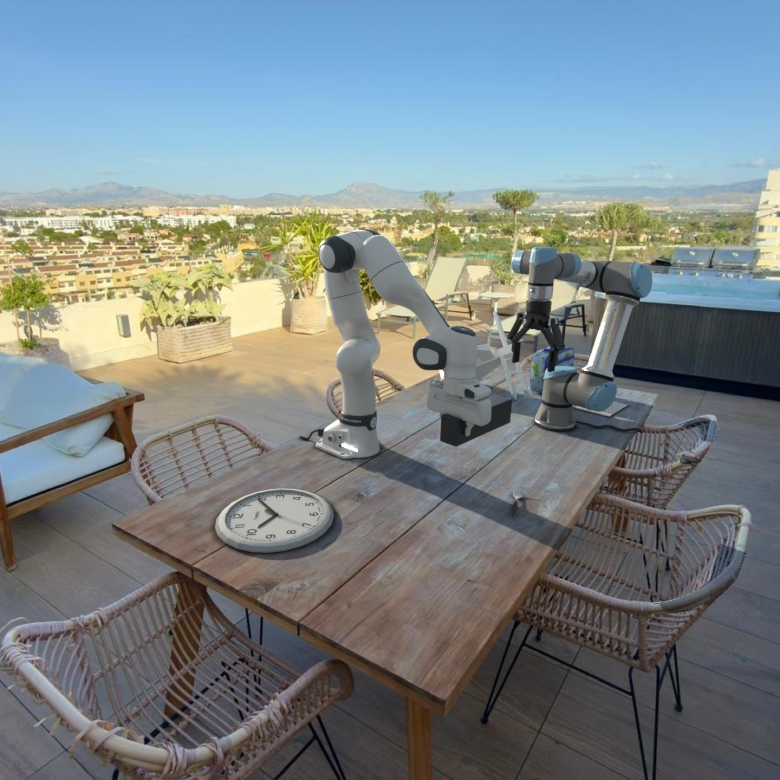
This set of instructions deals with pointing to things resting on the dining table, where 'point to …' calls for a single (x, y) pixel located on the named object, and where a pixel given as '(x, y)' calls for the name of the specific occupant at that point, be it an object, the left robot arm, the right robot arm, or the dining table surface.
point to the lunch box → (541, 364)
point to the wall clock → (274, 520)
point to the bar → (455, 425)
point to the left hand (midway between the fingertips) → (456, 431)
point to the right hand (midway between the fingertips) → (532, 366)
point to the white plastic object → (497, 361)
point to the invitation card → (609, 411)
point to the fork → (517, 496)
